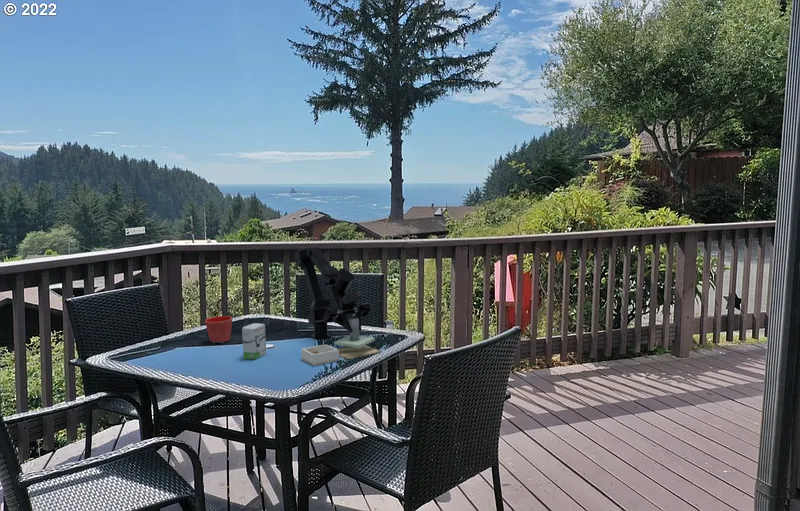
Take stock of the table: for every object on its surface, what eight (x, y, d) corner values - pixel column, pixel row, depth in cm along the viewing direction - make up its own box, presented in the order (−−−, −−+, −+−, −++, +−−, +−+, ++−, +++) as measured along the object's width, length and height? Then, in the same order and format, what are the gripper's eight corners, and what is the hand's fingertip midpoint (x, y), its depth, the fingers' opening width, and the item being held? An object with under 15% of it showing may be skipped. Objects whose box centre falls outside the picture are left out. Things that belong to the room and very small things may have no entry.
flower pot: (200, 344, 239) (199, 320, 238) (218, 337, 249) (216, 315, 248) (221, 346, 235) (220, 322, 234) (239, 339, 245) (237, 316, 244)
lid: (334, 344, 219) (333, 320, 218) (350, 337, 228) (349, 314, 227) (358, 347, 213) (358, 323, 212) (374, 340, 223) (374, 317, 222)
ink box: (254, 360, 215) (252, 328, 213) (242, 359, 216) (241, 328, 215) (267, 353, 223) (265, 323, 221) (255, 352, 224) (253, 322, 223)
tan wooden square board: (330, 351, 223) (329, 349, 223) (361, 345, 231) (361, 343, 231) (347, 359, 212) (347, 358, 212) (380, 352, 219) (380, 351, 219)
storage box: (301, 359, 214) (301, 348, 213) (326, 354, 219) (326, 344, 219) (313, 366, 205) (313, 355, 205) (339, 360, 211) (338, 350, 210)
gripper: (325, 288, 216) (340, 322, 209) (368, 282, 227) (384, 315, 219) (316, 305, 224) (331, 339, 216) (359, 299, 234) (374, 331, 226)
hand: (356, 331), depth 219 cm, fingers closed on lid, 4 cm apart
